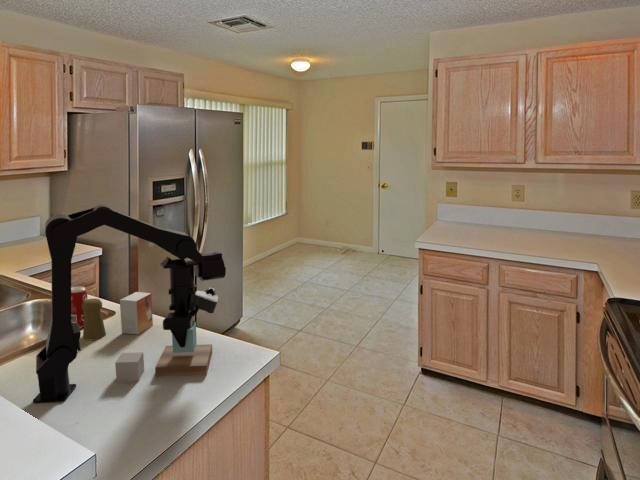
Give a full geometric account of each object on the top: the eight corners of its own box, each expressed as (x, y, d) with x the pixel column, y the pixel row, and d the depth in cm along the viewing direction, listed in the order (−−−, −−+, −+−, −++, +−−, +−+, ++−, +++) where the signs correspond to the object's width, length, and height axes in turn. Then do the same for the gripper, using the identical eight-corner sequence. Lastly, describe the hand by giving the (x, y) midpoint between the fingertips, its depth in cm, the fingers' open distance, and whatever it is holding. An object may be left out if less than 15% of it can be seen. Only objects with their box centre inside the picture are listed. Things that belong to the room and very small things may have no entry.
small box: (138, 335, 128) (136, 301, 126) (121, 333, 129) (118, 299, 127) (153, 325, 136) (151, 292, 134) (137, 323, 137) (135, 291, 135)
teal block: (193, 352, 109) (192, 329, 108) (172, 352, 108) (171, 330, 107) (196, 343, 114) (195, 321, 113) (176, 344, 113) (175, 322, 112)
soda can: (85, 321, 138) (82, 284, 136) (92, 325, 135) (89, 288, 132) (67, 325, 134) (64, 288, 132) (74, 330, 131) (71, 292, 128)
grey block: (138, 381, 103) (137, 361, 102) (116, 382, 103) (115, 362, 102) (144, 370, 108) (143, 352, 107) (123, 371, 108) (121, 353, 107)
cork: (83, 333, 129) (80, 297, 127) (106, 330, 131) (103, 295, 129) (82, 341, 124) (78, 304, 121) (106, 338, 126) (103, 301, 124)
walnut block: (206, 376, 107) (206, 365, 106) (155, 378, 105) (155, 367, 105) (212, 354, 119) (212, 344, 118) (166, 356, 117) (166, 345, 116)
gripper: (211, 294, 100) (213, 358, 103) (219, 272, 118) (220, 327, 121) (160, 295, 98) (163, 360, 101) (176, 273, 116) (178, 328, 119)
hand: (184, 342), depth 111 cm, fingers closed on teal block, 5 cm apart
